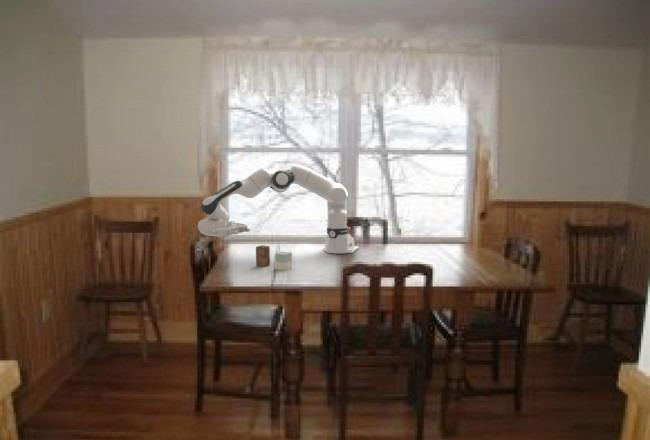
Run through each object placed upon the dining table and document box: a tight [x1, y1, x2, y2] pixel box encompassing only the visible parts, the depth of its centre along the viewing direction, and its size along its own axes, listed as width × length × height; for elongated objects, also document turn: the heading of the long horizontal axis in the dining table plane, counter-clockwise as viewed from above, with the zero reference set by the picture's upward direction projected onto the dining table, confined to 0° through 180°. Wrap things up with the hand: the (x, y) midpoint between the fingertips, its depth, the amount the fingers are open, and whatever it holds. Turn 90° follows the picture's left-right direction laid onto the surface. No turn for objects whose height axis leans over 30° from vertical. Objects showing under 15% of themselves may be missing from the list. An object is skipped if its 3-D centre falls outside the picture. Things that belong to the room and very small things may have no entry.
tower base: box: [274, 259, 293, 271], centre depth 276 cm, size 6×6×4 cm
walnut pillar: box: [255, 244, 271, 268], centre depth 282 cm, size 5×5×10 cm
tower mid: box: [274, 251, 293, 263], centre depth 275 cm, size 6×6×4 cm
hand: (243, 231), depth 286 cm, fingers open, 8 cm apart
